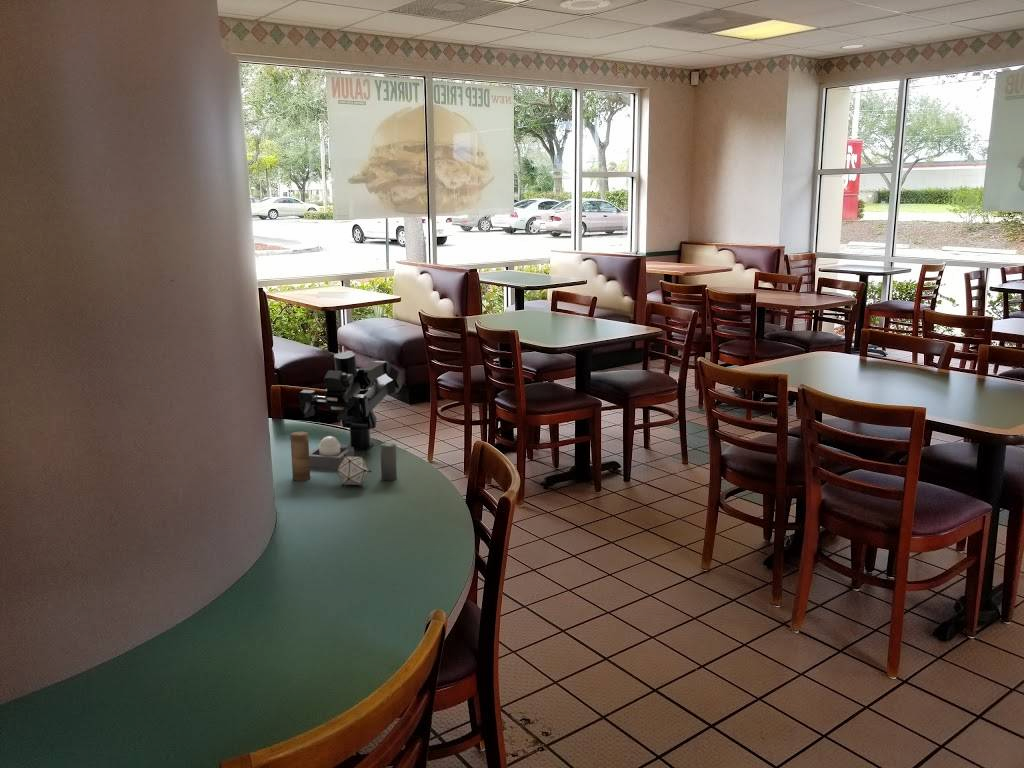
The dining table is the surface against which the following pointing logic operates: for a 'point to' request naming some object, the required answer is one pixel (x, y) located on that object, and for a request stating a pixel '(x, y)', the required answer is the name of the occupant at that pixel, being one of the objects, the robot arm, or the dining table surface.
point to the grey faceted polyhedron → (353, 470)
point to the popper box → (329, 458)
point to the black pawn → (388, 461)
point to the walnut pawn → (300, 456)
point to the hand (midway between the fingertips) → (321, 417)
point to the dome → (329, 446)
